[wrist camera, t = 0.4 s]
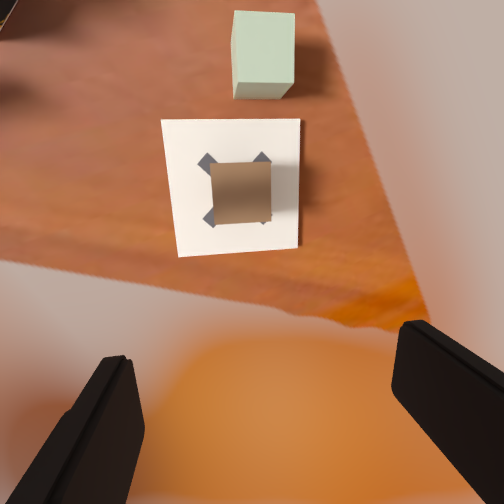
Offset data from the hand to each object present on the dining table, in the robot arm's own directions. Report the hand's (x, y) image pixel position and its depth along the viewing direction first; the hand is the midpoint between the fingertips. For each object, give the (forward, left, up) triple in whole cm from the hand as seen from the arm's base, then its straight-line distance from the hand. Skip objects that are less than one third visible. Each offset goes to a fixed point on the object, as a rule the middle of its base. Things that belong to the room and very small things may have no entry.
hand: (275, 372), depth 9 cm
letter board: (-5, +1, -26) cm, 26 cm away
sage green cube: (-18, +4, -26) cm, 32 cm away
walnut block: (-5, +1, -25) cm, 25 cm away
